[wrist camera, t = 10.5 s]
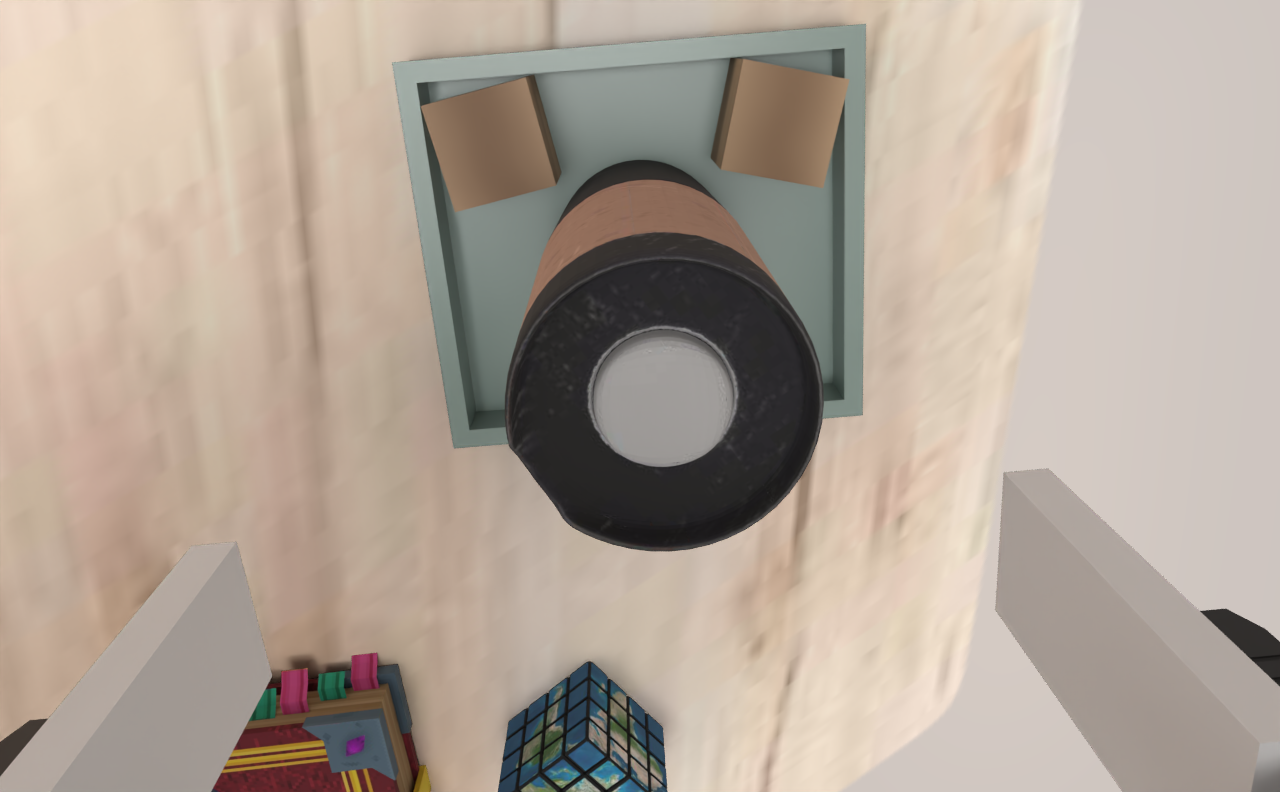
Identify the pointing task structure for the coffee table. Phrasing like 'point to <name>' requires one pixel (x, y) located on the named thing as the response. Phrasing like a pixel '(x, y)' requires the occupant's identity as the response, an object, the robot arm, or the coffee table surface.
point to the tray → (624, 131)
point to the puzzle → (584, 741)
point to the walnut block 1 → (493, 143)
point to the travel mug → (660, 368)
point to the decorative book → (328, 735)
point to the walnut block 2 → (778, 122)
